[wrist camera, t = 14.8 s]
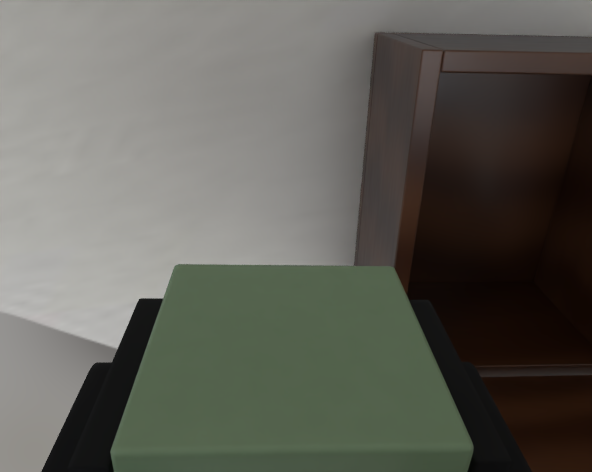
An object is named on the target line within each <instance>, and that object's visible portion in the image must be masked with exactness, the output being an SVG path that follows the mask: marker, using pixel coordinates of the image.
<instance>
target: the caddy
mask: <svg viewBox="0 0 592 472" xmlns="http://www.w3.org/2000/svg"><path fill="white" fill-rule="evenodd" d="M354 266H391V267H394V268H395V270H396V273H397V275H398V277H399V279H400V282H401V284H402V286H403V288H404V291H405V293H406V295H407V297H408V300H429V301H430V302H431V304H432V306H433V307H434V309H435V311H436V313H437V315H438V317H439V319H440V321H441V323H442V325H443V327H444V329H445V331H446V333H447V335H448V337H449V339H450V341H451V343H452V345H453V347H454V348H455V350H456V352H457V354H458V356H459V358H460V360H461V362H470V363H472V364H473V365H474V366H475V368H476V369H477V371H478V373H479V375H480V377H513V376H569V375H592V37H573V36H527V35H481V34H435V33H389V32H376V33H375V37H374V48H373V60H372V71H371V82H370V94H369V105H368V116H367V127H366V139H365V150H364V161H363V173H362V184H361V195H360V207H359V218H358V229H357V240H356V252H355V263H354Z"/></svg>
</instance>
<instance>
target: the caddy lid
mask: <svg viewBox="0 0 592 472" xmlns="http://www.w3.org/2000/svg"><path fill="white" fill-rule="evenodd" d="M481 378H482V380H483V382H484V384H485V386H486V388H487V389H488V391H489V393H490V395H491V397H492V399H493V400H494V402H495V404H496V406H497V408H498V410H499V412H500V413H501V415H502V417H503V419H504V421H505V423H506V424H507V426H508V428H509V430H510V432H511V434H512V435H513V437H514V439H515V441H516V443H517V445H518V447H519V448H520V450H521V452H522V454H523V456H524V458H525V459H526V461H527V463H528V465H529V467H530V469H531V471H532V472H592V375H569V376H513V377H481Z"/></svg>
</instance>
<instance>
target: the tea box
mask: <svg viewBox="0 0 592 472" xmlns="http://www.w3.org/2000/svg"><path fill="white" fill-rule="evenodd" d="M473 449H474V446H473V443H472V441H471V438H470V436H469V434H468V432H467V429H466V427H465V425H464V423H463V420H462V418H461V416H460V414H459V411H458V409H457V407H456V405H455V402H454V400H453V398H452V396H451V394H450V391H449V389H448V387H447V385H446V382H445V380H444V378H443V376H442V373H441V371H440V369H439V367H438V364H437V362H436V360H435V358H434V355H433V353H432V351H431V349H430V347H429V344H428V342H427V340H426V338H425V335H424V333H423V331H422V329H421V326H420V324H419V322H418V320H417V317H416V315H415V313H414V311H413V308H412V306H411V304H410V302H409V300H408V297H407V295H406V293H405V291H404V288H403V286H402V284H401V282H400V279H399V277H398V275H397V273H396V270H395V268H394V267H391V266H306V265H196V264H178V265H176V266H175V267H174V269H173V272H172V275H171V278H170V281H169V284H168V287H167V289H166V292H165V295H164V298H163V301H162V304H161V307H160V310H159V313H158V315H157V318H156V321H155V324H154V327H153V330H152V333H151V336H150V338H149V341H148V344H147V347H146V350H145V353H144V356H143V359H142V362H141V364H140V367H139V370H138V373H137V376H136V379H135V382H134V385H133V387H132V390H131V393H130V396H129V399H128V402H127V405H126V408H125V411H124V413H123V416H122V419H121V422H120V425H119V428H118V431H117V434H116V436H115V439H114V442H113V445H112V448H111V451H110V453H111V459H112V464H113V469H114V472H467V471H468V468H469V465H470V461H471V458H472V454H473Z"/></svg>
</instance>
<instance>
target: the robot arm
mask: <svg viewBox="0 0 592 472" xmlns="http://www.w3.org/2000/svg"><path fill="white" fill-rule="evenodd" d="M162 301H163V299H139V301H138V303H137V305H136V307H135V310H134V312H133V314H132V317H131V319H130V321H129V324H128V326H127V329H126V331H125V333H124V336H123V338H122V340H121V343H120V345H119V347H118V350H117V352H116V355H115V357H114V359H113V362H112V363H95V364H94V365H93V366H92V368H91V369H90V371H89V373H88V375H87V377H86V379H85V381H84V383H83V385H82V388H81V389H80V392H79V394H78V396H77V398H76V400H75V402H74V404H73V406H72V408H71V410H70V413H69V415H68V417H67V419H66V421H65V423H64V425H63V427H62V429H61V432H60V434H59V436H58V438H57V440H56V442H55V444H54V446H53V448H52V450H51V453H50V455H49V457H48V459H47V461H46V463H45V465H44V467H43V469H42V472H114V469H113V464H112V459H111V453H110V451H111V448H112V445H113V442H114V439H115V436H116V434H117V431H118V428H119V425H120V422H121V419H122V416H123V413H124V411H125V408H126V405H127V402H128V399H129V396H130V393H131V390H132V387H133V385H134V382H135V379H136V376H137V373H138V370H139V367H140V364H141V362H142V359H143V356H144V353H145V350H146V347H147V344H148V341H149V338H150V336H151V333H152V330H153V327H154V324H155V321H156V318H157V315H158V313H159V310H160V307H161V304H162ZM409 302H410V304H411V306H412V308H413V311H414V313H415V315H416V317H417V320H418V322H419V324H420V326H421V329H422V331H423V333H424V335H425V338H426V340H427V342H428V344H429V347H430V349H431V351H432V353H433V355H434V358H435V360H436V362H437V364H438V367H439V369H440V371H441V373H442V376H443V378H444V380H445V382H446V385H447V387H448V389H449V391H450V394H451V396H452V398H453V400H454V402H455V405H456V407H457V409H458V411H459V414H460V416H461V418H462V420H463V423H464V425H465V427H466V429H467V432H468V434H469V436H470V438H471V441H472V443H473V446H474V449H473V454H472V458H471V461H470V465H469V468H468V471H467V472H532V471H531V469H530V467H529V465H528V463H527V461H526V459H525V458H524V456H523V454H522V452H521V450H520V448H519V447H518V445H517V443H516V441H515V439H514V437H513V435H512V434H511V432H510V430H509V428H508V426H507V424H506V423H505V421H504V419H503V417H502V415H501V413H500V412H499V410H498V408H497V406H496V404H495V402H494V400H493V399H492V397H491V395H490V393H489V391H488V389H487V388H486V386H485V384H484V382H483V380H482V378H481V377H480V375H479V373H478V371H477V369H476V368H475V366H474V365H473V364H472V363H470V362H461V360H460V358H459V356H458V354H457V352H456V350H455V348H454V347H453V345H452V343H451V341H450V339H449V337H448V335H447V333H446V331H445V329H444V327H443V325H442V323H441V321H440V319H439V317H438V315H437V313H436V311H435V309H434V307H433V306H432V304H431V302H430V301H429V300H409Z"/></svg>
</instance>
